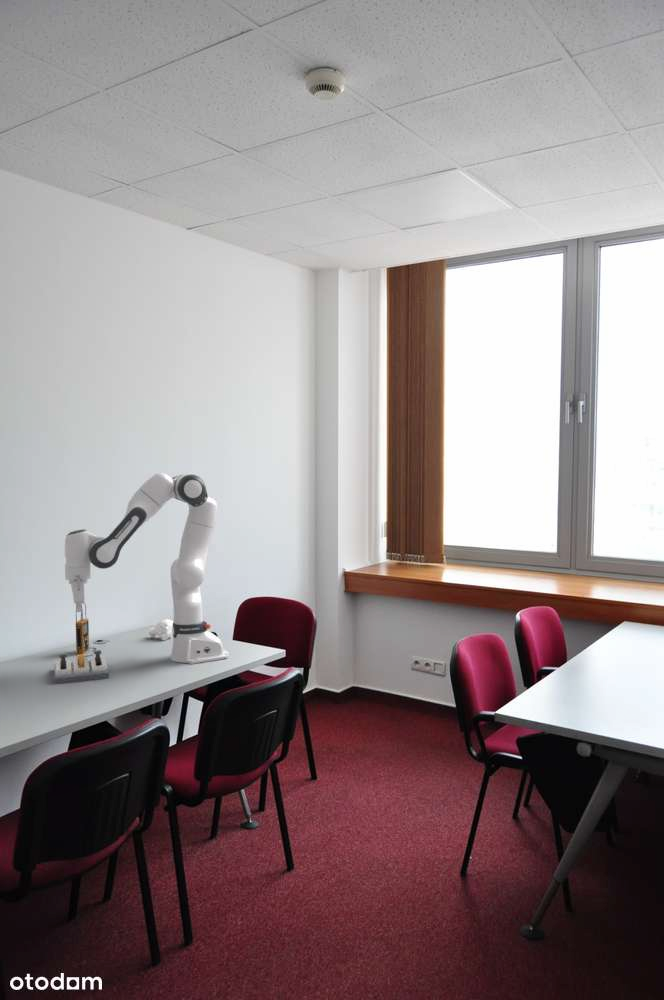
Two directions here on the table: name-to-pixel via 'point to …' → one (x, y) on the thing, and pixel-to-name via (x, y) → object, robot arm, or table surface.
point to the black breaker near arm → (97, 656)
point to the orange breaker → (80, 659)
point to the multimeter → (82, 635)
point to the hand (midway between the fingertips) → (78, 611)
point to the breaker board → (81, 670)
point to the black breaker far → (63, 660)
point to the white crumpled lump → (162, 629)
